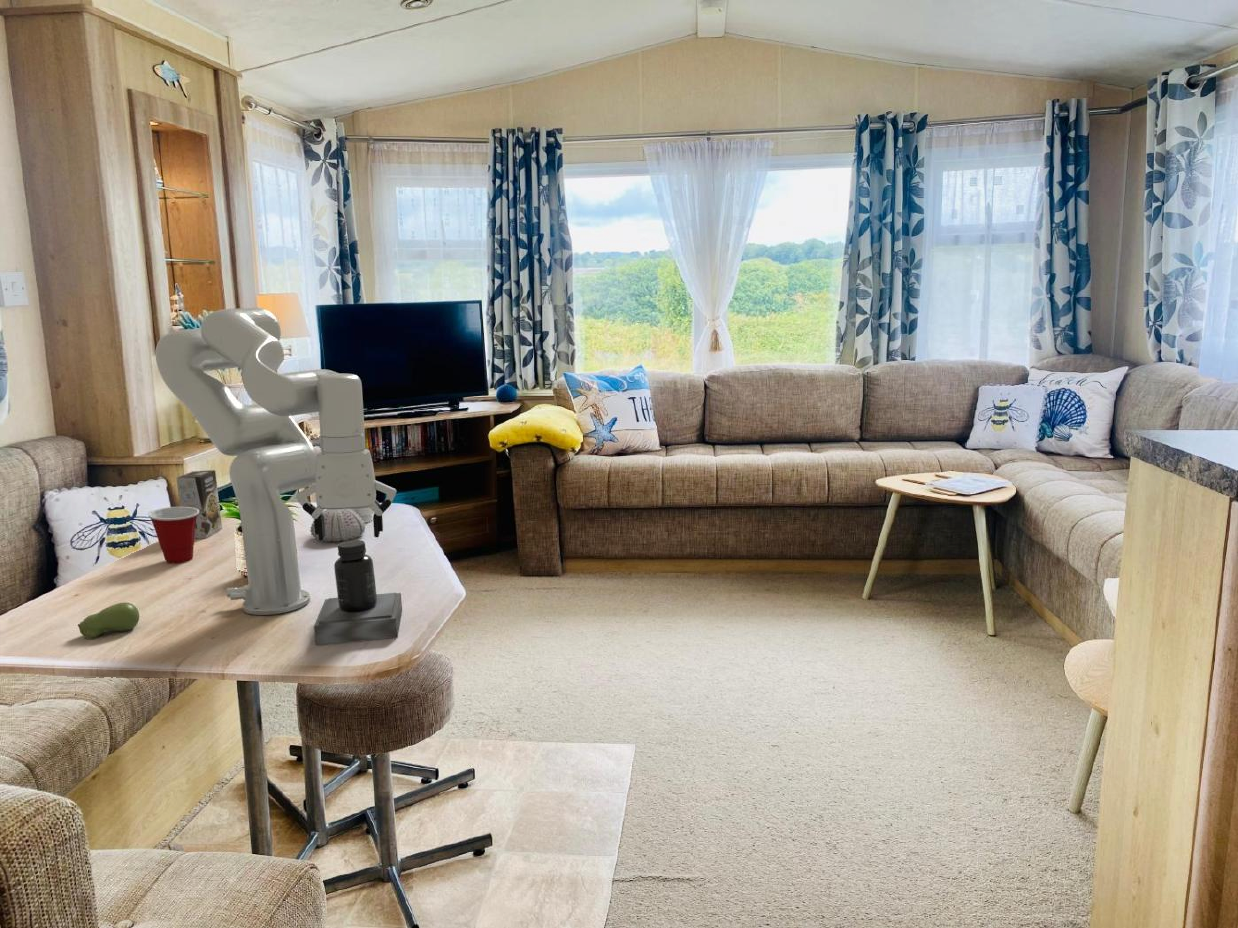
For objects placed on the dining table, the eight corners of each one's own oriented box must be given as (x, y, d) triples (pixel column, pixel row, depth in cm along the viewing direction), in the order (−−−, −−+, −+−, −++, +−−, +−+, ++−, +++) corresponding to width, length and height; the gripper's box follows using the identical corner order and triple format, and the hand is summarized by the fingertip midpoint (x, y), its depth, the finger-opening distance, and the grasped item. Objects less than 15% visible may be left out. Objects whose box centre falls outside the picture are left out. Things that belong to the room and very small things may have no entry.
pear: (133, 603, 168) (73, 622, 164) (143, 629, 169) (83, 648, 165) (134, 594, 173) (75, 613, 169) (143, 619, 174) (85, 638, 170)
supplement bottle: (365, 597, 172) (359, 536, 169) (384, 605, 167) (378, 542, 164) (331, 607, 167) (325, 544, 165) (350, 615, 162) (343, 551, 160)
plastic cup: (186, 567, 208) (180, 517, 206) (144, 566, 210) (137, 516, 208) (215, 553, 219) (209, 505, 216) (174, 553, 220) (168, 504, 218)
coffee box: (207, 538, 233) (200, 476, 230) (183, 539, 233) (174, 477, 230) (223, 528, 242) (216, 469, 239) (199, 529, 242) (192, 470, 239)
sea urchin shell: (326, 530, 237) (323, 500, 235) (375, 531, 235) (372, 500, 234) (301, 545, 224) (298, 513, 223) (353, 545, 222) (350, 513, 221)
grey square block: (315, 645, 160) (313, 623, 159) (327, 617, 173) (325, 597, 172) (397, 637, 162) (395, 616, 161) (402, 610, 176) (400, 590, 175)
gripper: (288, 450, 156) (296, 545, 160) (392, 446, 159) (397, 540, 163) (296, 441, 163) (303, 533, 167) (394, 438, 166) (400, 528, 170)
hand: (349, 536), depth 165 cm, fingers open, 9 cm apart
